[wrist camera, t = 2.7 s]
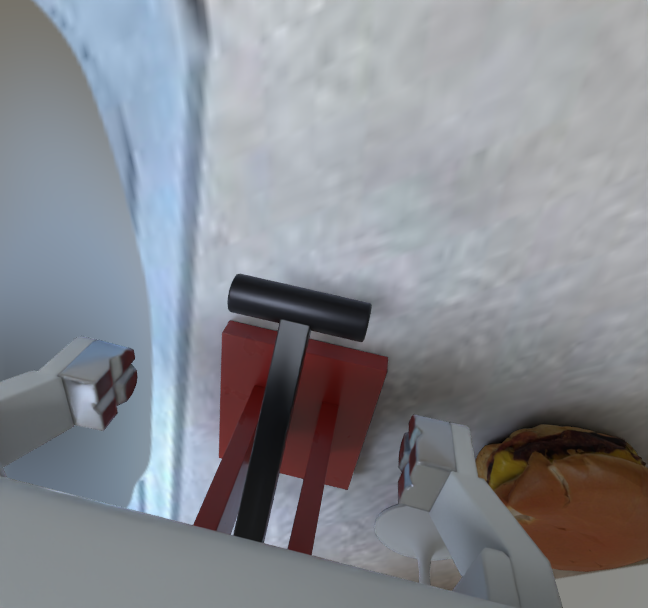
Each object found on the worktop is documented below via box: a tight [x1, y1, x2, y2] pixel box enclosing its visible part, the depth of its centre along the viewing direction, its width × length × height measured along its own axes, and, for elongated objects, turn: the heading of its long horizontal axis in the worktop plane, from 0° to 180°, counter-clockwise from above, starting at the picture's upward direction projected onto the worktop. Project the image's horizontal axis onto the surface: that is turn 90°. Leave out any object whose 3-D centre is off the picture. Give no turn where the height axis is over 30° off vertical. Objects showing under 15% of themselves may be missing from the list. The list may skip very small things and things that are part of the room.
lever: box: [228, 274, 371, 543], centre depth 16 cm, size 15×5×2 cm, turn 172°
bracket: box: [193, 321, 388, 555], centre depth 20 cm, size 11×9×14 cm
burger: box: [475, 424, 648, 572], centre depth 23 cm, size 10×9×5 cm
